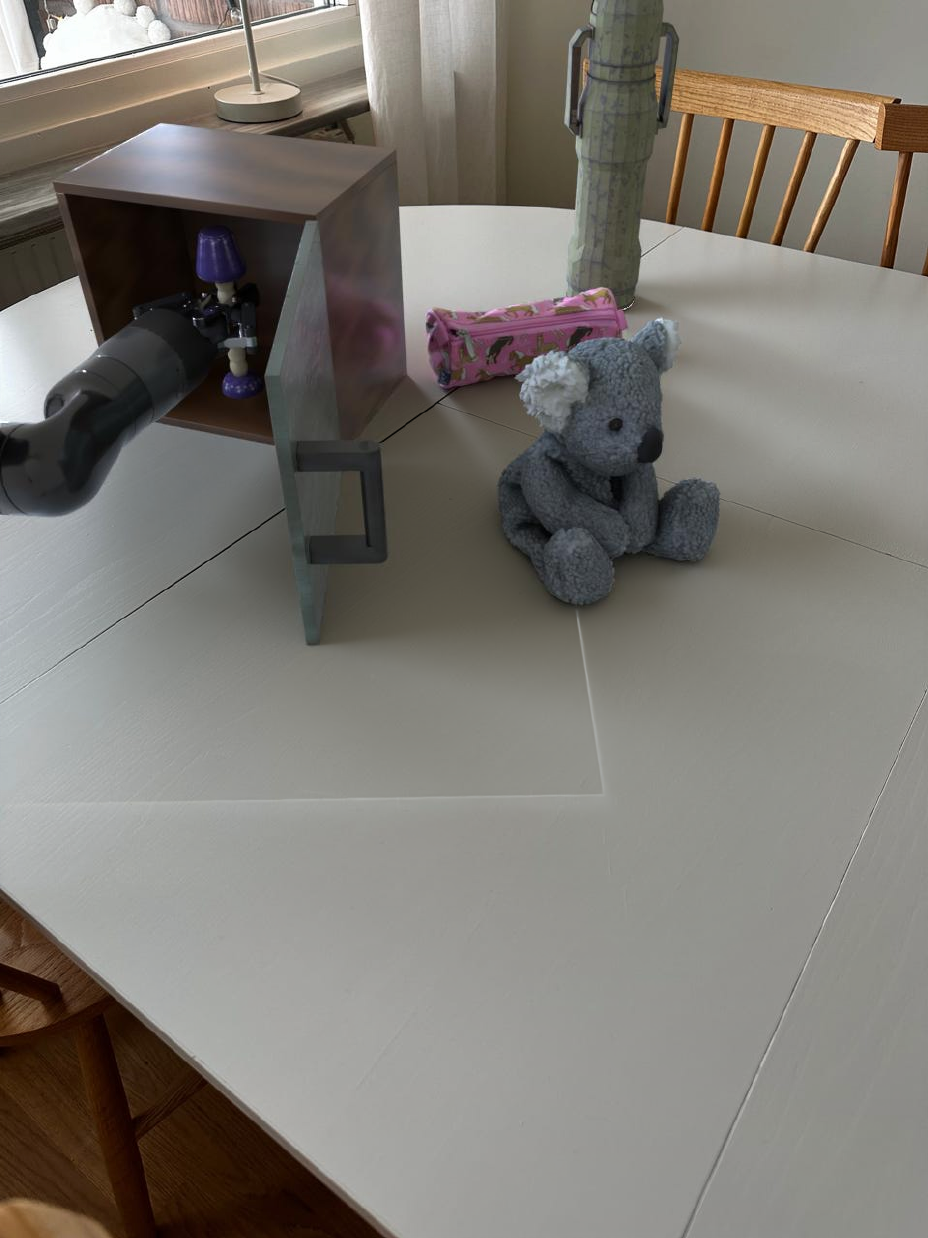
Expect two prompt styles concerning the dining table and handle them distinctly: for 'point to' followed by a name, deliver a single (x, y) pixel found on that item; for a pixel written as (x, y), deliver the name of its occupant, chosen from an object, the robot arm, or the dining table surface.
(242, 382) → the toy lamp
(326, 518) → the cupboard door
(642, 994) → the dining table surface
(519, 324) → the pencil case
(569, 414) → the koala plush
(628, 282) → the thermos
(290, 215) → the cupboard
